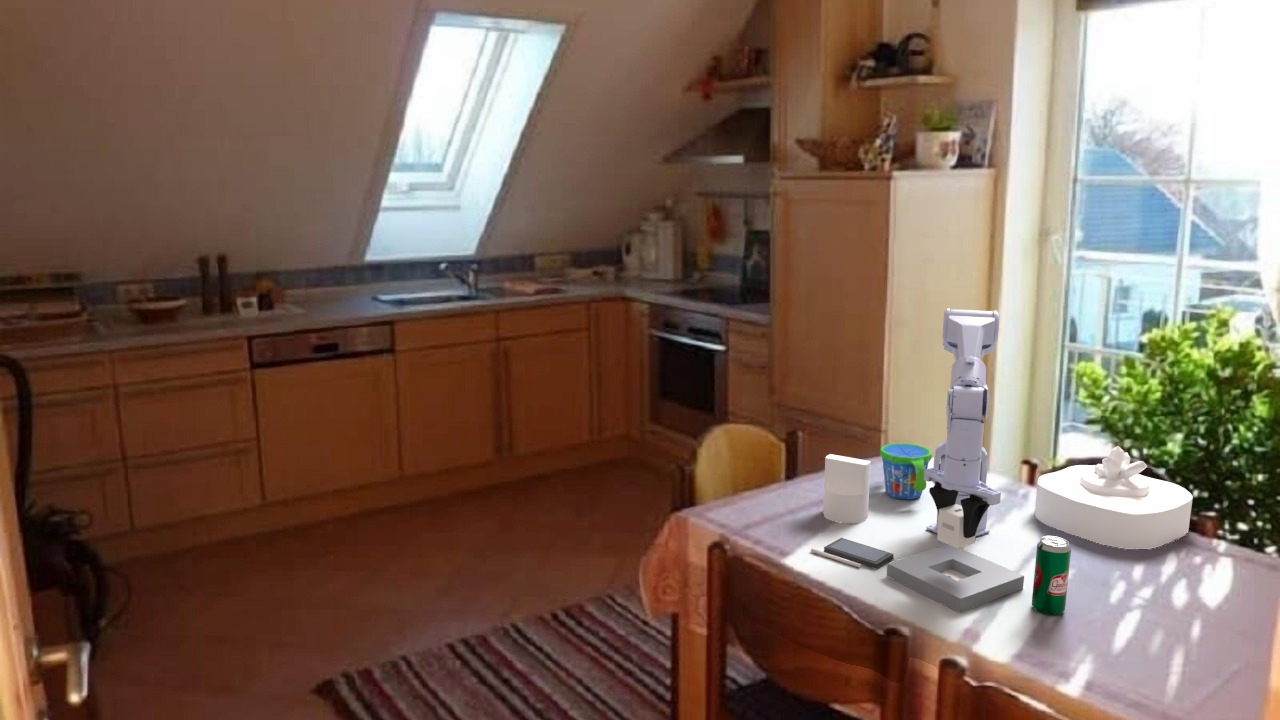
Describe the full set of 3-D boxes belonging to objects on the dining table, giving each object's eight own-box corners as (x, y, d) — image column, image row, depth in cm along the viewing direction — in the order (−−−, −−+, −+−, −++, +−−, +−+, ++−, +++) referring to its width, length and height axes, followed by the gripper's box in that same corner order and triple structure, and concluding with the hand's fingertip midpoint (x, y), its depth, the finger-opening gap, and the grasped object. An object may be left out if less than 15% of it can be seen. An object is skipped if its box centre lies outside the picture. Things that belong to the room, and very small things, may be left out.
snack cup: (868, 482, 217) (871, 439, 215) (914, 481, 218) (917, 438, 215) (890, 508, 202) (893, 462, 200) (940, 507, 202) (943, 461, 200)
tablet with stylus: (832, 539, 186) (833, 534, 186) (893, 558, 177) (893, 553, 177) (810, 552, 180) (810, 546, 180) (871, 572, 172) (871, 566, 171)
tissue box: (1205, 529, 191) (1216, 451, 188) (1134, 558, 178) (1144, 475, 174) (1088, 492, 212) (1095, 421, 208) (1016, 516, 198) (1023, 440, 195)
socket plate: (948, 555, 179) (949, 543, 178) (1023, 588, 165) (1024, 575, 165) (886, 576, 170) (887, 563, 170) (959, 612, 157) (960, 598, 157)
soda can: (1050, 619, 155) (1056, 549, 152) (1024, 606, 159) (1030, 538, 156) (1071, 612, 157) (1078, 543, 154) (1045, 599, 161) (1052, 532, 159)
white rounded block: (873, 512, 200) (876, 457, 197) (858, 527, 192) (861, 469, 190) (832, 504, 204) (835, 450, 202) (816, 517, 197) (818, 461, 194)
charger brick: (954, 534, 169) (956, 503, 168) (974, 542, 165) (977, 511, 164) (936, 539, 167) (938, 508, 165) (957, 548, 163) (959, 516, 162)
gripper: (913, 448, 167) (909, 522, 170) (982, 472, 155) (976, 551, 158) (941, 442, 170) (936, 514, 173) (1011, 464, 158) (1004, 542, 161)
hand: (957, 531), depth 166 cm, fingers closed on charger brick, 4 cm apart
